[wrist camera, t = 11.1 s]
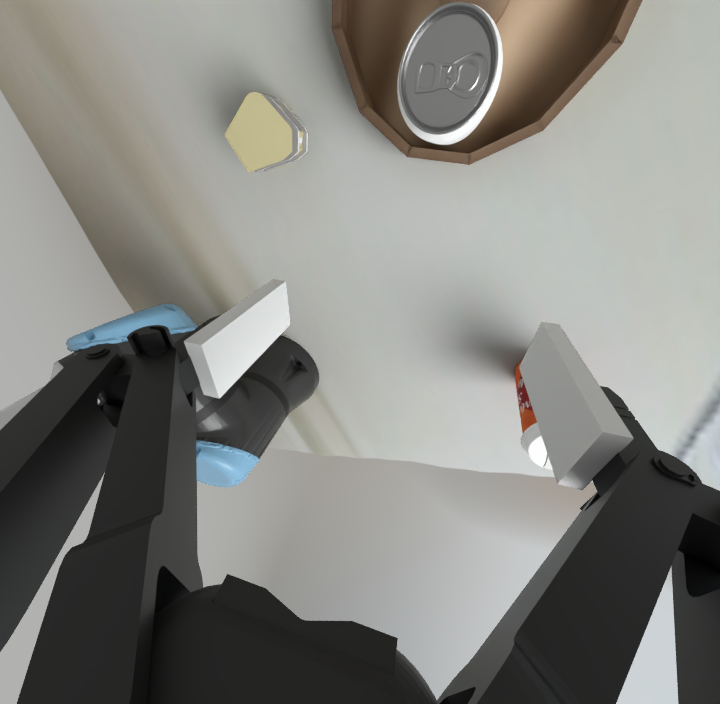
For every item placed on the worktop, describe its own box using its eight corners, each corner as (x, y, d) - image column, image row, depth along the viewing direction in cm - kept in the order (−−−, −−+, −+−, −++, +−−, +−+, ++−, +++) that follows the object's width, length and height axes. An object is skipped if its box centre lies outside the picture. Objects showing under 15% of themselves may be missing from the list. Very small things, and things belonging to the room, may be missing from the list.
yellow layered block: (279, 199, 37) (256, 205, 33) (234, 125, 33) (201, 122, 29) (338, 151, 32) (320, 150, 28) (292, 58, 28) (262, 42, 24)
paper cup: (499, 357, 40) (513, 433, 30) (561, 341, 37) (604, 421, 26) (515, 396, 43) (534, 478, 32) (574, 384, 39) (618, 473, 29)
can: (478, 146, 27) (487, 144, 18) (411, 144, 28) (387, 141, 19) (500, 49, 23) (525, -18, 14) (421, 52, 25) (397, -7, 15)
